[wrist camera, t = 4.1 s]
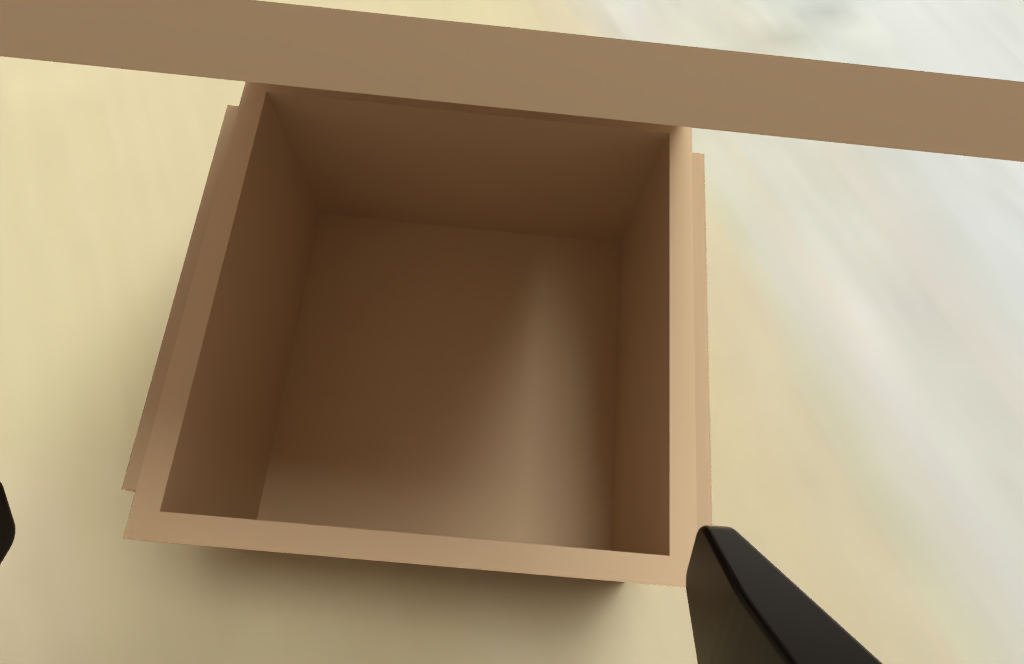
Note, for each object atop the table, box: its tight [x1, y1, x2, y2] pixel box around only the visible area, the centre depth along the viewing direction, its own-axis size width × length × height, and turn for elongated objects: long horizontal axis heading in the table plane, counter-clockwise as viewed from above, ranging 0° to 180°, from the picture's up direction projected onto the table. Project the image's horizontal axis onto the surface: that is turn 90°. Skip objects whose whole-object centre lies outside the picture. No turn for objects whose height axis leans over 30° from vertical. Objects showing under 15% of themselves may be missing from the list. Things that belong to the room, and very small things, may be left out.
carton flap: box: [0, 0, 1024, 162], centre depth 11 cm, size 14×12×1 cm
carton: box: [122, 82, 712, 587], centre depth 19 cm, size 12×13×7 cm
